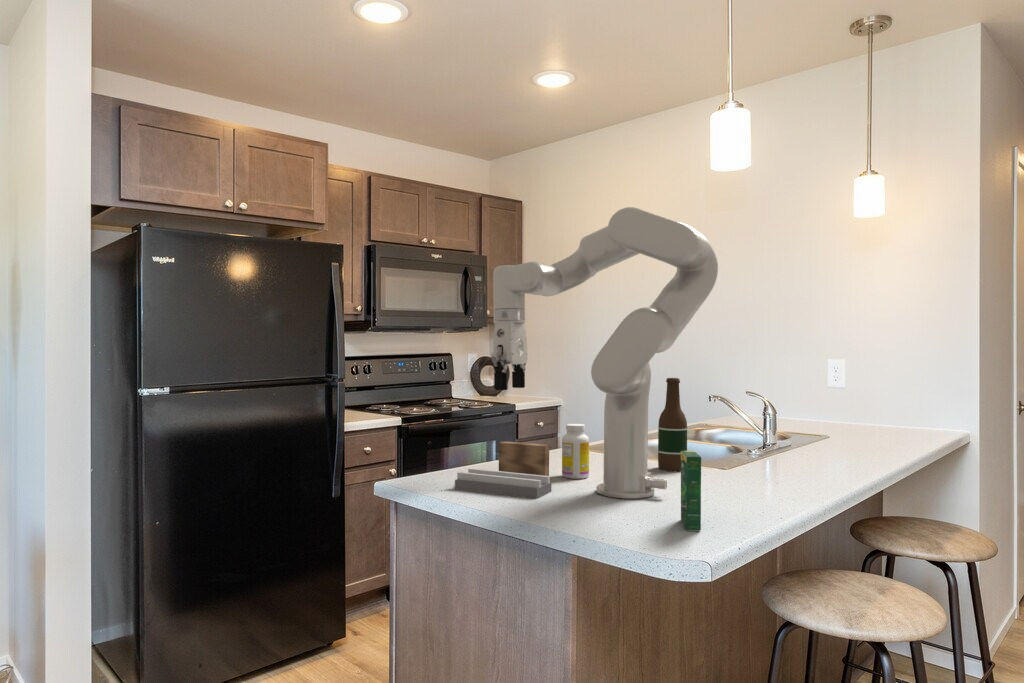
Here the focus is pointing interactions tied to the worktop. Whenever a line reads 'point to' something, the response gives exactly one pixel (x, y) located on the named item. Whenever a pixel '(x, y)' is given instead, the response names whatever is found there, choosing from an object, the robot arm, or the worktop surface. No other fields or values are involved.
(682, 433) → the beer bottle
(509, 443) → the door panel
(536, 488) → the rail
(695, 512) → the coffee box
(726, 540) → the worktop surface
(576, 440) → the supplement bottle
